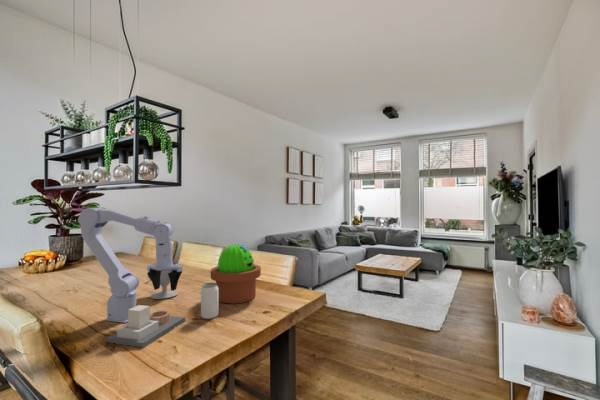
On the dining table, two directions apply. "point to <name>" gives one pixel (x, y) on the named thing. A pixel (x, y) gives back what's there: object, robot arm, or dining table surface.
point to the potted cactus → (236, 275)
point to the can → (209, 301)
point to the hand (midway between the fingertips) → (165, 289)
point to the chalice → (164, 286)
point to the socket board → (146, 330)
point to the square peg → (138, 317)
